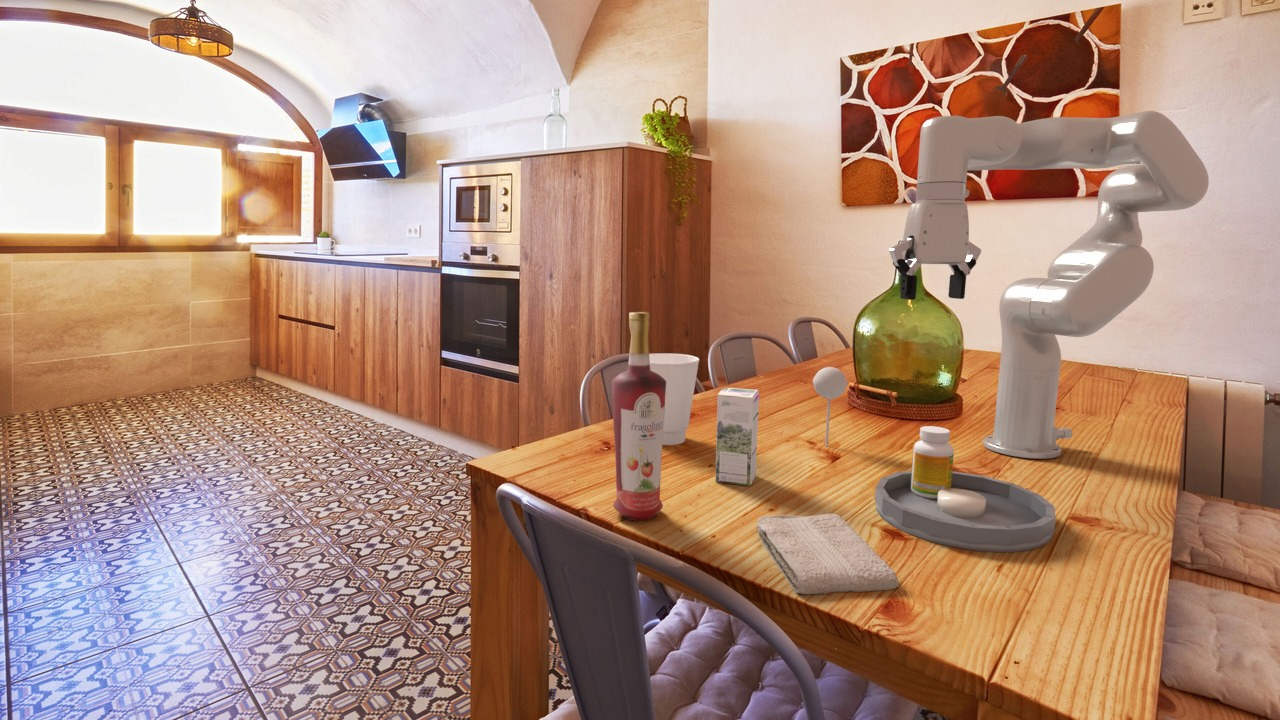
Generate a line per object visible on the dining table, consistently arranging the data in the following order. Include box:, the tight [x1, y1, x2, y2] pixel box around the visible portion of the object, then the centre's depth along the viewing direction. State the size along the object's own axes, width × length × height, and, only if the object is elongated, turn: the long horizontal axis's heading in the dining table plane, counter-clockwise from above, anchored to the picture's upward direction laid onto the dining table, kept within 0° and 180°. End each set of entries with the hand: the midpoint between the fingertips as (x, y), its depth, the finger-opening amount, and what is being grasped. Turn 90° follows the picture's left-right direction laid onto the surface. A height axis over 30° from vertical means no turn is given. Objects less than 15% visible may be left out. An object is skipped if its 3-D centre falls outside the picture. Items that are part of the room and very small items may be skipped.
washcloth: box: [755, 513, 899, 596], centre depth 81 cm, size 12×18×3 cm, turn 7°
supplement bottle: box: [911, 425, 955, 499], centre depth 99 cm, size 5×5×10 cm
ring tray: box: [874, 470, 1057, 553], centre depth 93 cm, size 22×22×3 cm
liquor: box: [611, 311, 666, 521], centre depth 91 cm, size 7×7×28 cm
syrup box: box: [715, 387, 760, 487], centre depth 107 cm, size 6×6×14 cm
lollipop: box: [812, 366, 848, 447], centre depth 125 cm, size 6×6×15 cm
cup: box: [649, 352, 700, 446], centre depth 128 cm, size 12×12×16 cm
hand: (932, 298), depth 115 cm, fingers open, 9 cm apart
